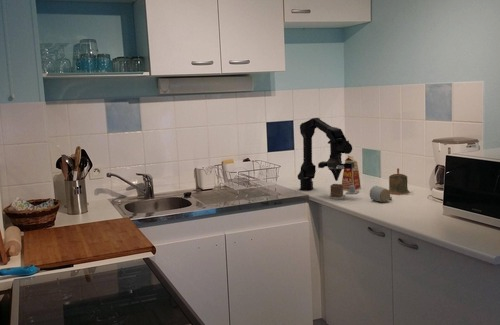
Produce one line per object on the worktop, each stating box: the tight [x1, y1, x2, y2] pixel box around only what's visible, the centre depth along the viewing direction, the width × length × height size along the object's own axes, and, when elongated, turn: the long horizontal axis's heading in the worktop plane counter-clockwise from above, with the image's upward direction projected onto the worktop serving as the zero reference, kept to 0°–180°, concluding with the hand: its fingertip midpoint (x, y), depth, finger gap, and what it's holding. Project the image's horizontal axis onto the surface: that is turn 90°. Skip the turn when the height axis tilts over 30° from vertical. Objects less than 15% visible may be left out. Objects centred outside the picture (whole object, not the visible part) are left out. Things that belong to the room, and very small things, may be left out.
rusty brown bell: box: [388, 167, 410, 196], centre depth 285 cm, size 12×18×12 cm, turn 164°
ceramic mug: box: [369, 185, 393, 203], centre depth 264 cm, size 11×8×8 cm
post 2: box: [345, 185, 360, 195], centre depth 287 cm, size 6×6×4 cm
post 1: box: [328, 194, 346, 199], centre depth 279 cm, size 7×7×6 cm
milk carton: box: [341, 155, 362, 192], centre depth 297 cm, size 9×9×20 cm
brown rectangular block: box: [329, 183, 344, 197], centre depth 279 cm, size 5×5×6 cm
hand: (336, 180), depth 278 cm, fingers closed
